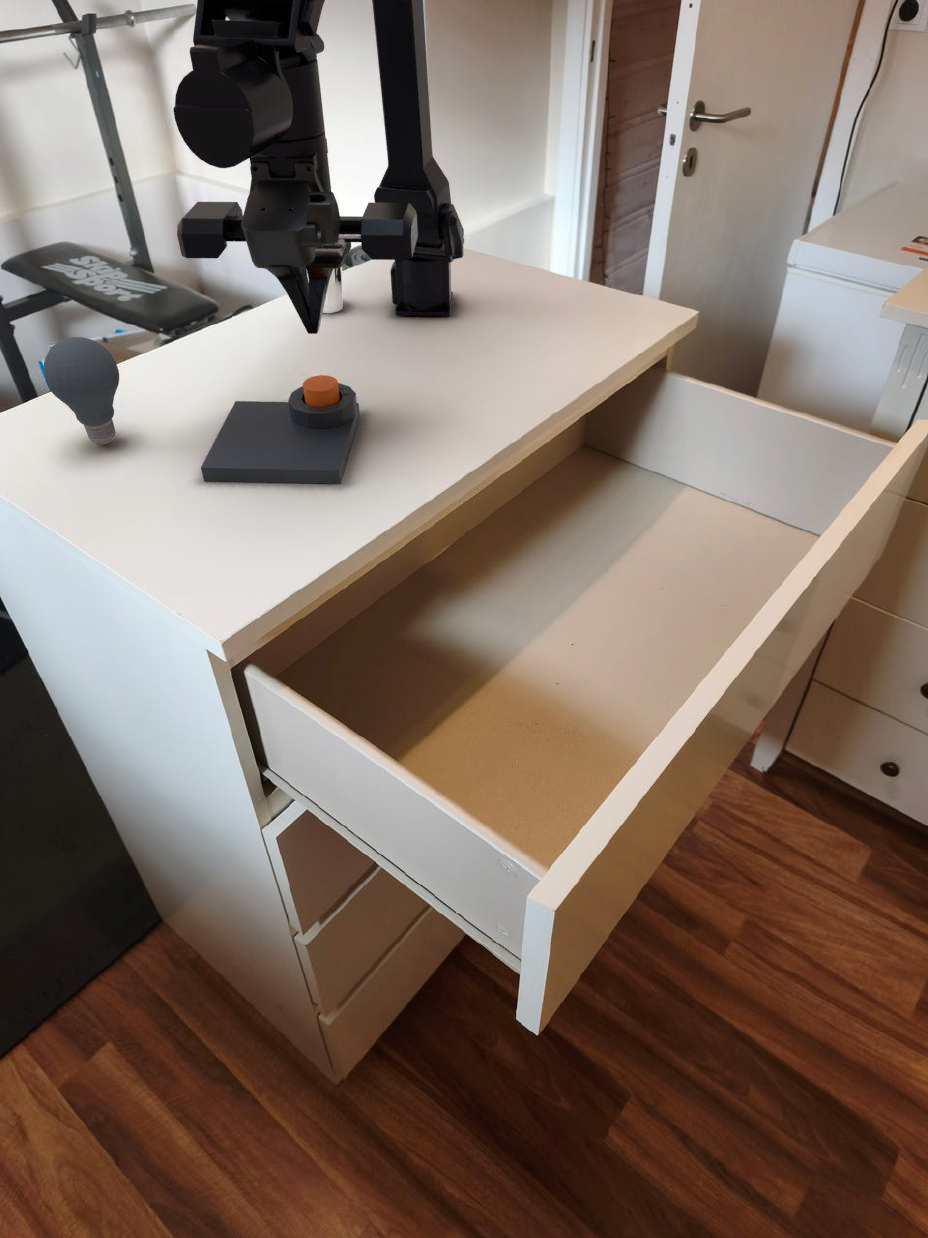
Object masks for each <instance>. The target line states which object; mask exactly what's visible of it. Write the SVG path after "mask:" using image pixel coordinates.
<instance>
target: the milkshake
mask: <svg viewBox="0 0 928 1238" xmlns="http://www.w3.org/2000/svg"><path fill="white" fill-rule="evenodd" d="M343 307H344V305H343V279H342V267H341V268H338V269H333V271H332V274H331V277H330V280H329V284H328V289H327V294H326V299H325V303H324V308H323V313H322V314H335V313H339V312H340V311H342V310H343Z"/></svg>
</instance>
